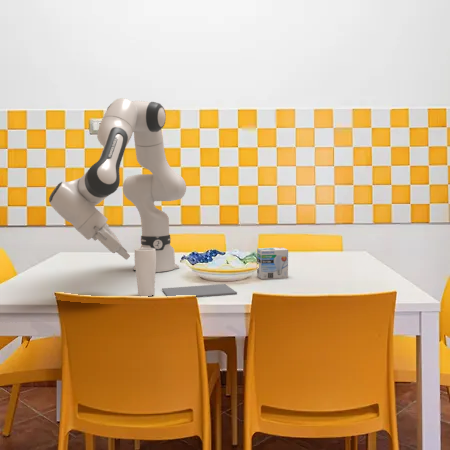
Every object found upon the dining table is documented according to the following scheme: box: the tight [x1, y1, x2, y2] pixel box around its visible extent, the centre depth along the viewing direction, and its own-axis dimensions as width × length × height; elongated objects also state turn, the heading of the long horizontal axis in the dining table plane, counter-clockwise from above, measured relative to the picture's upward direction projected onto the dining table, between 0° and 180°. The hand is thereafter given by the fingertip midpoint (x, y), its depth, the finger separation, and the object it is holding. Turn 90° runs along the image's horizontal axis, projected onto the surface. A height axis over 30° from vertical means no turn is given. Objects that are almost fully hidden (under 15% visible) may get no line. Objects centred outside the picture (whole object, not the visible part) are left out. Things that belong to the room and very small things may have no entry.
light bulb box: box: [256, 246, 289, 280], centre depth 195 cm, size 11×7×11 cm, turn 101°
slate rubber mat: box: [161, 283, 238, 298], centre depth 171 cm, size 14×22×1 cm, turn 106°
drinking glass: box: [134, 247, 157, 297], centre depth 167 cm, size 7×7×15 cm
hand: (126, 255), depth 165 cm, fingers open, 8 cm apart
